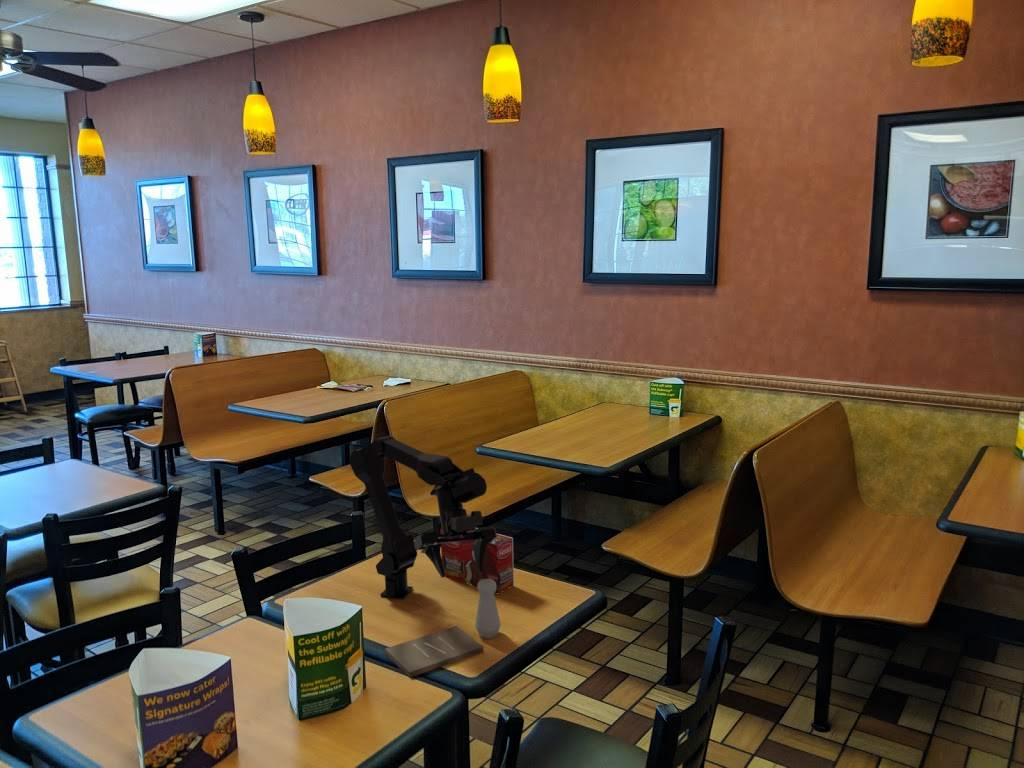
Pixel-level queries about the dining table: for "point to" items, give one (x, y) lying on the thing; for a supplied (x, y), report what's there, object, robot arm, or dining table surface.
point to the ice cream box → (495, 562)
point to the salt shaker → (487, 610)
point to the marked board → (433, 651)
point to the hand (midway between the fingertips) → (461, 574)
